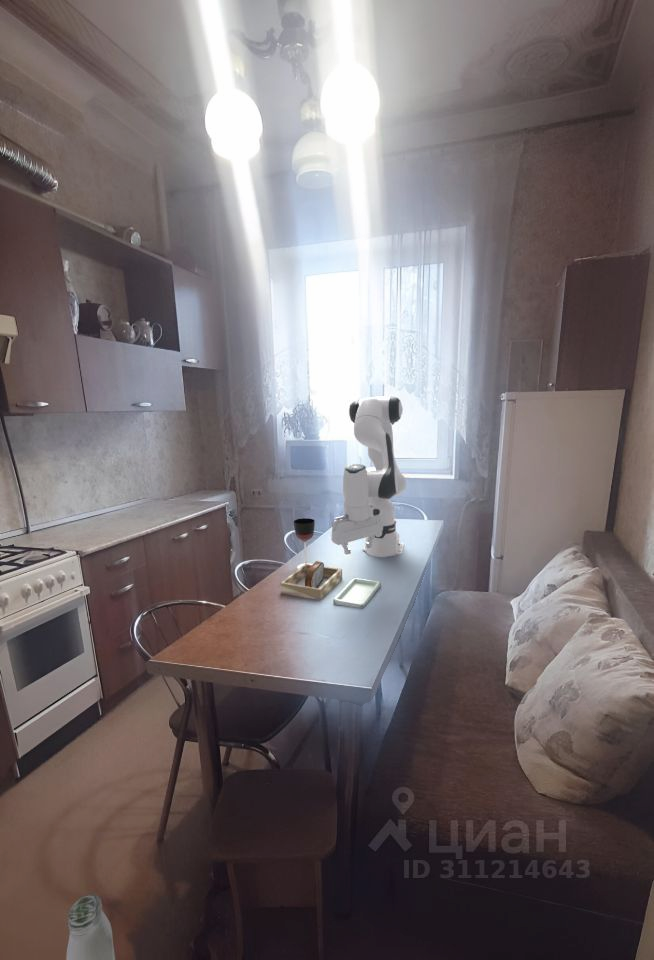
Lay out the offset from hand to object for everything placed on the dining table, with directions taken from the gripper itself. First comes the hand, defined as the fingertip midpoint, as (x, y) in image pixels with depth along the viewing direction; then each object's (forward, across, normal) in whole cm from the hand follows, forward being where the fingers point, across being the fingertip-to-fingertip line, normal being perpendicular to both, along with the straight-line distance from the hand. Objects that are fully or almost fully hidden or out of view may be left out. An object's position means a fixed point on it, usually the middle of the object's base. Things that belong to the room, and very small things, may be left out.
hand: (358, 550), depth 152 cm
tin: (+17, -8, +17) cm, 25 cm away
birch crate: (+17, -9, +17) cm, 26 cm away
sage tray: (+17, -1, 0) cm, 17 cm away
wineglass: (+17, -2, +35) cm, 39 cm away
